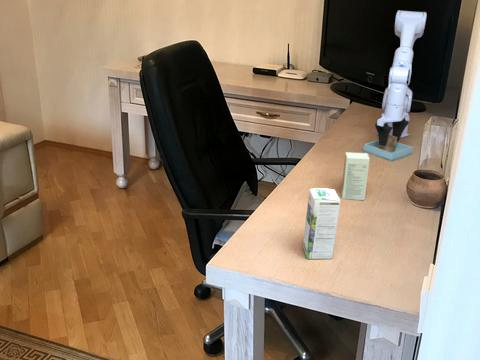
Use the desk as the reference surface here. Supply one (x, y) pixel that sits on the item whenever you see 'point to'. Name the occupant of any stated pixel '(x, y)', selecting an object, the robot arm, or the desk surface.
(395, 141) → the walnut block
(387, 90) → the robot arm
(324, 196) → the syrup box
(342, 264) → the desk surface
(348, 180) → the skincare box
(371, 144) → the tray
